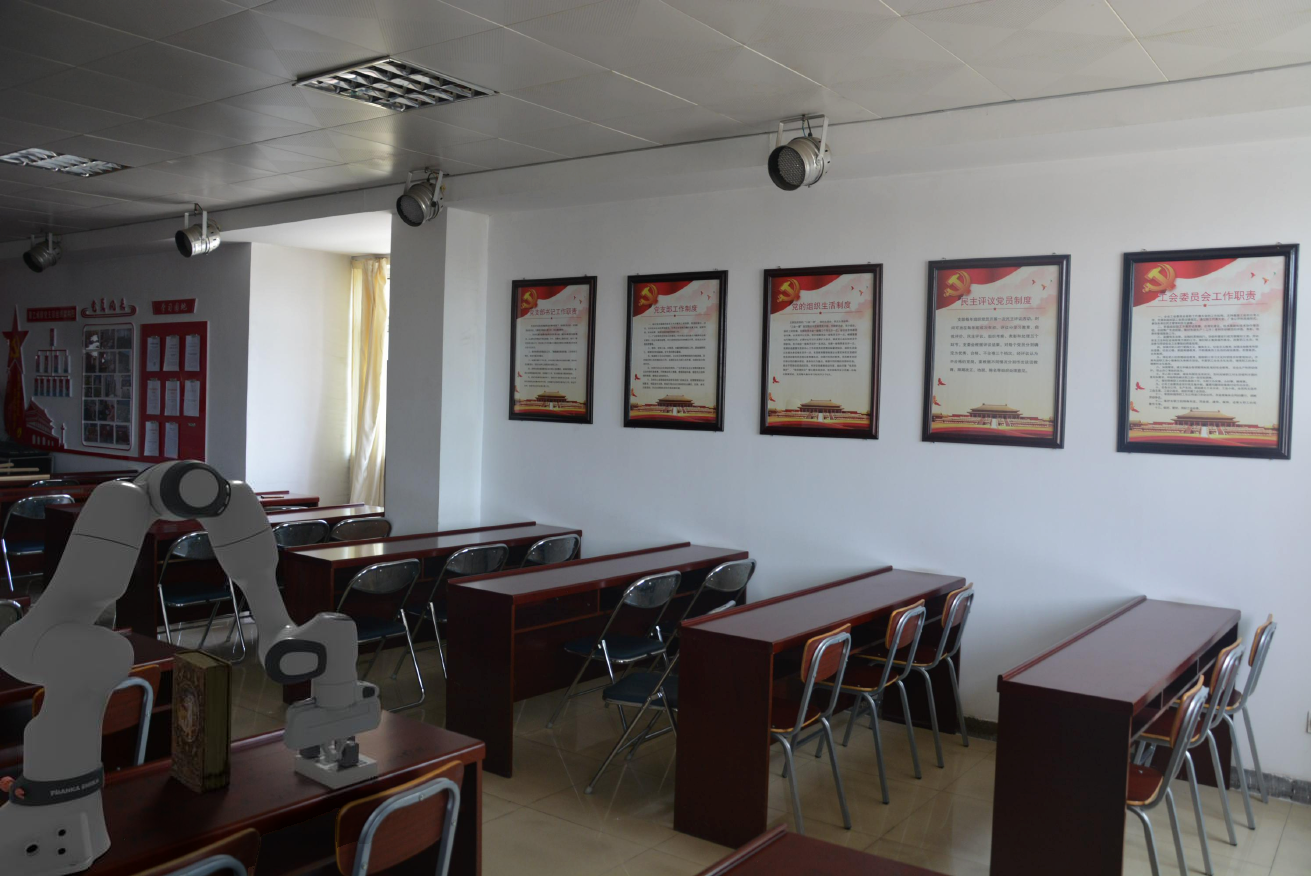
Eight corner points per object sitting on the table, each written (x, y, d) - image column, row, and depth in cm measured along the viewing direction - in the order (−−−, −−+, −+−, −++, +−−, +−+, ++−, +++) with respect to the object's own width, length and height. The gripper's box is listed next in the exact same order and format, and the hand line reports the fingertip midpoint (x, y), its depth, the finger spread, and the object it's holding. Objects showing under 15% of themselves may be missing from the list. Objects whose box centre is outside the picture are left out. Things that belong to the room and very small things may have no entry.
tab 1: (307, 758, 197) (307, 737, 197) (299, 754, 199) (299, 734, 199) (320, 754, 199) (320, 734, 199) (312, 751, 201) (312, 731, 201)
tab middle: (342, 757, 198) (342, 737, 198) (334, 754, 200) (334, 734, 200) (354, 754, 200) (355, 734, 200) (346, 750, 202) (347, 730, 202)
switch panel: (334, 789, 190) (334, 773, 190) (294, 770, 199) (294, 755, 199) (377, 775, 197) (377, 760, 197) (336, 757, 207) (337, 743, 207)
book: (168, 773, 196) (170, 652, 195) (195, 766, 200) (198, 648, 199) (201, 796, 185) (204, 668, 184) (230, 788, 189) (232, 663, 188)
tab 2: (345, 766, 193) (346, 746, 193) (337, 763, 195) (337, 742, 195) (358, 762, 195) (359, 742, 195) (350, 759, 197) (350, 739, 197)
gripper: (294, 707, 182) (293, 778, 182) (385, 685, 198) (384, 751, 198) (277, 700, 186) (276, 770, 186) (368, 679, 202) (367, 744, 202)
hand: (333, 760), depth 192 cm, fingers closed
